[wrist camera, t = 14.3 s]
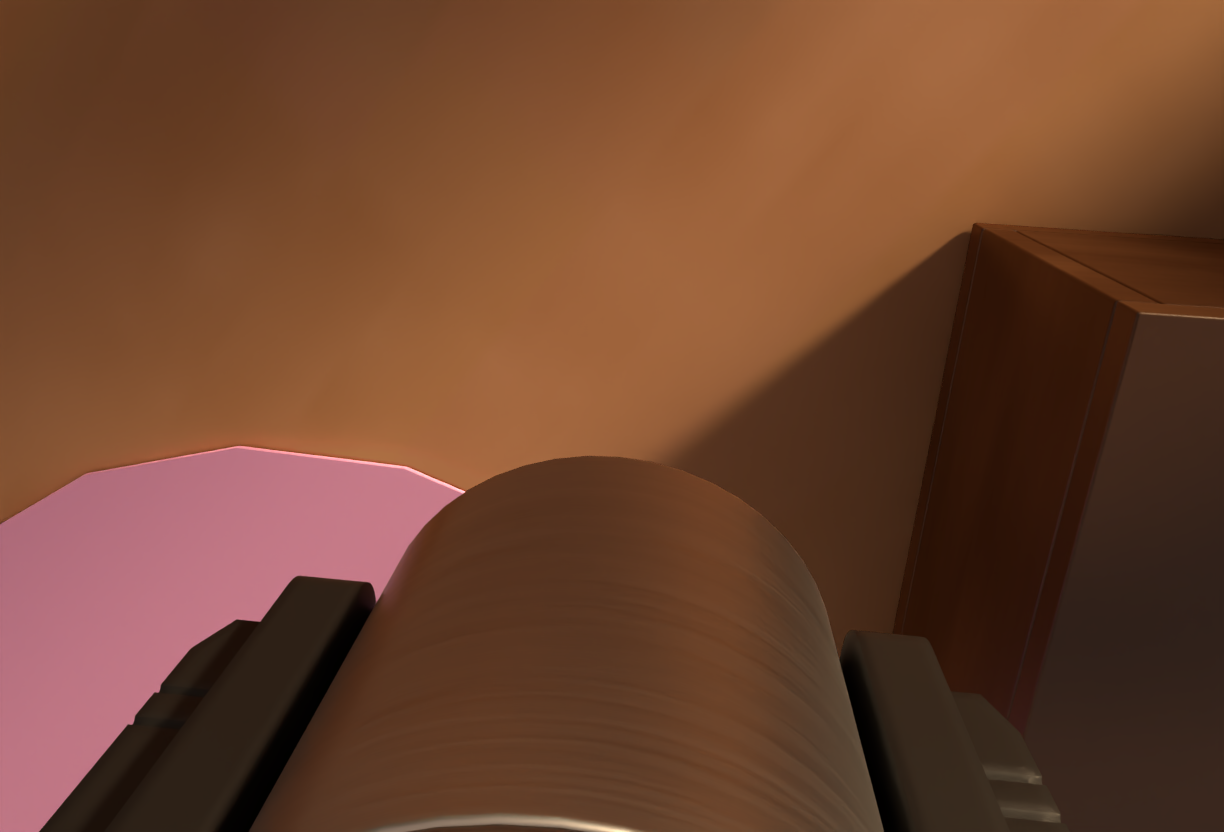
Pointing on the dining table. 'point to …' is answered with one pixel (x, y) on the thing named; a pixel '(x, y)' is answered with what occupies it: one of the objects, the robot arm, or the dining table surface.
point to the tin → (587, 673)
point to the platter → (167, 587)
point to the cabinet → (1085, 517)
